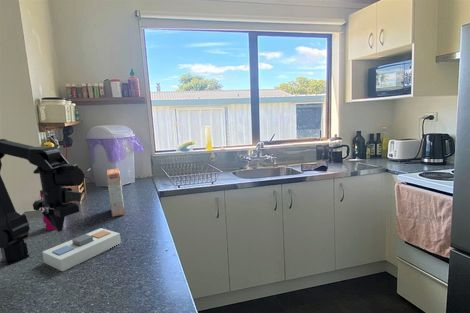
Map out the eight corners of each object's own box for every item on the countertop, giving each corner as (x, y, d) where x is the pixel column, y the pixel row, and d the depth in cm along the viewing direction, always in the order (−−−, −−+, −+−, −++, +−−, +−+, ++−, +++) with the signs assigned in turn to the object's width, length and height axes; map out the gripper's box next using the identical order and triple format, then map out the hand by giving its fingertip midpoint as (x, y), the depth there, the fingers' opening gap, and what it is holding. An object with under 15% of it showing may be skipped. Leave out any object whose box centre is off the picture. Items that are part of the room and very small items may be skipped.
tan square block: (99, 245, 110) (98, 237, 110) (92, 242, 113) (91, 235, 112) (111, 239, 114) (110, 232, 114) (103, 237, 117) (102, 230, 116)
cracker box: (125, 215, 145) (119, 172, 141) (111, 217, 143) (105, 174, 139) (124, 206, 158) (119, 167, 154) (112, 208, 156) (106, 169, 152)
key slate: (60, 262, 99) (59, 254, 98) (53, 259, 101) (52, 251, 101) (75, 256, 103) (73, 248, 102) (67, 253, 105) (66, 245, 105)
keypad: (62, 271, 96) (60, 259, 95) (44, 262, 102) (42, 251, 102) (121, 243, 114) (119, 233, 113) (102, 237, 120) (100, 228, 119)
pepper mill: (54, 231, 130) (47, 186, 127) (40, 230, 132) (32, 186, 128) (67, 224, 137) (60, 181, 134) (53, 224, 139) (46, 182, 135)
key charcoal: (80, 250, 104) (79, 241, 104) (73, 247, 107) (72, 239, 106) (93, 244, 108) (92, 236, 108) (86, 241, 111) (85, 234, 110)
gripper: (91, 182, 99) (98, 227, 102) (62, 178, 110) (69, 218, 112) (57, 191, 90) (65, 240, 93) (28, 185, 100) (36, 229, 103)
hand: (59, 231), depth 100 cm, fingers closed
